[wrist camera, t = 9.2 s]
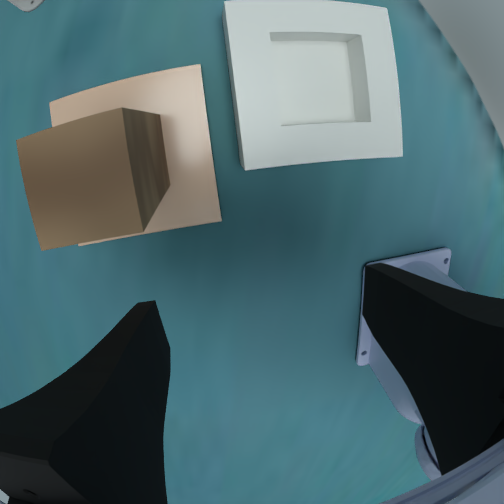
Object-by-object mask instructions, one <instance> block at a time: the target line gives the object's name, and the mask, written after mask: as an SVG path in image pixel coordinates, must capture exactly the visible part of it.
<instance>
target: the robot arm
mask: <svg viewBox="0 0 504 504" xmlns="http://www.w3.org/2000/svg"><path fill="white" fill-rule="evenodd" d="M445 258H446V259H445ZM450 259H451V250H450V249H448V248H447V247H445V248H440V249H436V250H431V251H426V252H421V253H416V254H411V255H406V256H401V257H396V258H391V259H386V260H381V261H376V262H371V263H368V264H367V265H365V267H364V270H363V287H362V302H361V316H360V328H359V338H358V348H357V357H356V363H357V364H358V365H359V366H363V365H367V364H369V365H370V367H371V368H372V370H373V372H374V373H375V375H376V377H377V378H378V380H379V382H380V383H381V385H382V387H383V388H384V390H385V392H386V393H387V395H388V397H389V398H390V400H391V402H392V403H393V405H394V407H395V408H396V409H397V411H398V412H399V413H400V414H401V415H402V416H404V417H405V418H407V419H408V420H410V421H413V422H415V423H419V424H421V425H420V426H419V427H418V429H417V431H416V433H415V447H416V455H417V458H418V461H419V463H420V465H421V467H422V469H423V471H424V472H425V474H426V475H427V476H428V478H429V479H430V480H431V482H429V483H427V484H424V485H422V486H420V487H418V488H416V489H414V490H411V491H409V492H407V493H405V494H402V495H400V496H397V497H395V498H392V499H390V500H387V501H385V502H382V503H380V504H445V503H446V504H504V299H500V298H494V297H488V296H483V295H478V294H474V293H470V292H467V291H466V290H465V289H464V288H462V287H461V286H460V285H459V284H457V283H456V282H455V281H454V280H452V279H451V278H450V277H448V271H449V265H450ZM444 260H445V261H444ZM363 351H364V352H363ZM169 380H170V346H169V343H168V340H167V337H166V334H165V331H164V328H163V324H162V321H161V318H160V315H159V311H158V308H157V305H156V302H155V301H147V302H140V303H137V304H136V305H135V306H134V307H133V308H132V309H131V310H130V311H129V312H128V313H127V314H126V315H125V316H124V317H123V318H122V319H121V320H120V321H119V323H118V324H117V325H116V326H115V327H114V328H113V329H112V330H111V331H110V332H109V333H108V334H107V335H106V336H105V337H104V338H103V339H102V340H101V341H100V342H99V343H98V344H97V345H96V346H95V347H94V348H93V349H92V350H91V351H90V352H89V353H88V354H86V355H85V356H84V357H83V358H82V359H81V360H80V361H78V362H77V363H76V364H75V365H73V366H72V367H71V368H70V369H68V370H67V371H66V372H64V373H63V374H62V375H60V376H59V377H57V378H56V379H54V380H53V381H51V382H50V383H48V384H47V385H45V386H44V387H42V388H41V389H39V390H37V391H36V392H34V393H32V394H30V395H29V396H27V397H25V398H23V399H21V400H19V401H17V402H15V403H13V404H11V405H9V406H6V407H4V408H1V409H0V489H1V490H2V491H3V492H4V493H6V494H7V495H8V496H9V501H8V504H167V495H166V486H165V472H164V450H163V433H164V421H165V412H166V404H167V396H168V388H169ZM456 497H457V498H456ZM454 498H455V499H454ZM452 499H453V500H452ZM450 500H451V501H450ZM449 501H450V502H449ZM447 502H448V503H447ZM0 504H5V503H3V502H2V501H0Z"/></svg>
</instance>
